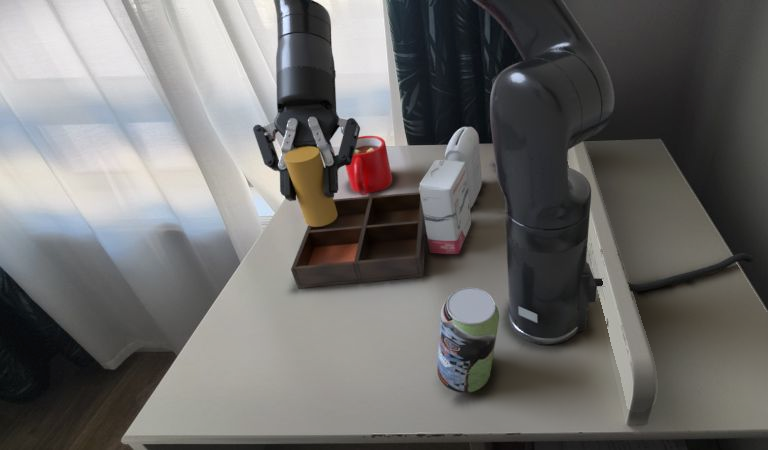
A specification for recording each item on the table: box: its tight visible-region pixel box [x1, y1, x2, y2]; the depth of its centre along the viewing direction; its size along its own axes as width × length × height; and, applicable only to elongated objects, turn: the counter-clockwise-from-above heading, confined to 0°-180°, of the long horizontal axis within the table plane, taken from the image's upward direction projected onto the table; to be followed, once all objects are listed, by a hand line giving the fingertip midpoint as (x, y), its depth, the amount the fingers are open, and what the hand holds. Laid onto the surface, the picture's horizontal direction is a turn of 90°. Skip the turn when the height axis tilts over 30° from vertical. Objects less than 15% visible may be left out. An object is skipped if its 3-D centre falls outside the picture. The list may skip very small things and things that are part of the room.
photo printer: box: [444, 126, 483, 210], centre depth 84 cm, size 10×4×12 cm, turn 169°
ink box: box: [418, 159, 472, 255], centre depth 75 cm, size 9×5×12 cm, turn 168°
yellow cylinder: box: [284, 146, 338, 227], centre depth 66 cm, size 4×4×10 cm
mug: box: [344, 135, 393, 197], centre depth 90 cm, size 8×12×8 cm, turn 5°
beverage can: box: [437, 287, 500, 394], centre depth 53 cm, size 6×7×12 cm
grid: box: [290, 191, 427, 289], centre depth 76 cm, size 18×18×4 cm
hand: (310, 197), depth 65 cm, fingers closed on yellow cylinder, 4 cm apart
